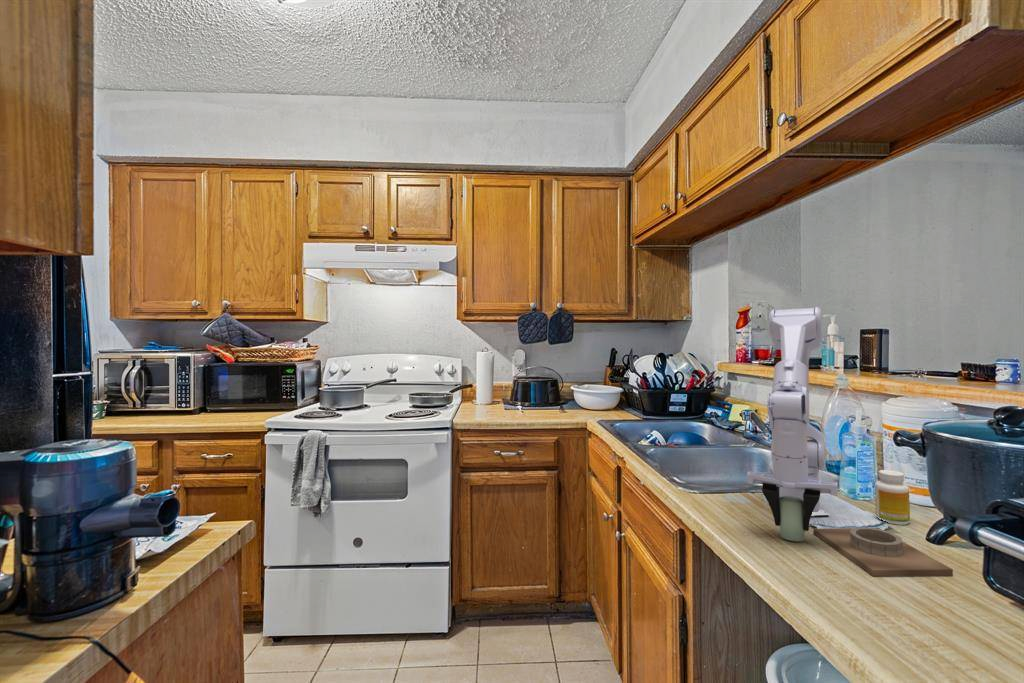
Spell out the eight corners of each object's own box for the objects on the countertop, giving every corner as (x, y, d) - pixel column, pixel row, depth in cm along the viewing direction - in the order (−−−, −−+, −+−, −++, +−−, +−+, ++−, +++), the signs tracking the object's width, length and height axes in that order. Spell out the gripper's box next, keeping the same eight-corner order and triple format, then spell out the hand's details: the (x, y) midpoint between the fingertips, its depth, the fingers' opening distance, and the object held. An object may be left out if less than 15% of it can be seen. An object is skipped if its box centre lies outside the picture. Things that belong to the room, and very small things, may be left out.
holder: (813, 533, 90) (813, 518, 90) (878, 532, 89) (877, 517, 89) (873, 576, 74) (872, 557, 74) (952, 575, 73) (952, 556, 73)
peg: (776, 532, 90) (774, 496, 90) (797, 532, 90) (796, 495, 90) (787, 541, 86) (785, 503, 86) (809, 541, 86) (808, 503, 86)
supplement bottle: (916, 526, 92) (915, 476, 92) (885, 524, 93) (883, 476, 93) (899, 515, 97) (898, 468, 97) (870, 514, 98) (869, 468, 98)
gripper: (743, 454, 89) (745, 525, 89) (835, 464, 80) (838, 543, 81) (749, 446, 95) (752, 513, 95) (837, 455, 86) (839, 528, 86)
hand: (792, 526), depth 88 cm, fingers closed on peg, 4 cm apart
